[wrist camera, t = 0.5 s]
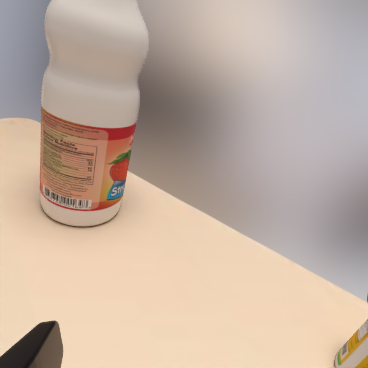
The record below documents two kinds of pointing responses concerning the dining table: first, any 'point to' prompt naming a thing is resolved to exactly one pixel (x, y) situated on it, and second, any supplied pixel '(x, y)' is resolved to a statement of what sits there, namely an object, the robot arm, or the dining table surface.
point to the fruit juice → (89, 107)
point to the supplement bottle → (354, 350)
